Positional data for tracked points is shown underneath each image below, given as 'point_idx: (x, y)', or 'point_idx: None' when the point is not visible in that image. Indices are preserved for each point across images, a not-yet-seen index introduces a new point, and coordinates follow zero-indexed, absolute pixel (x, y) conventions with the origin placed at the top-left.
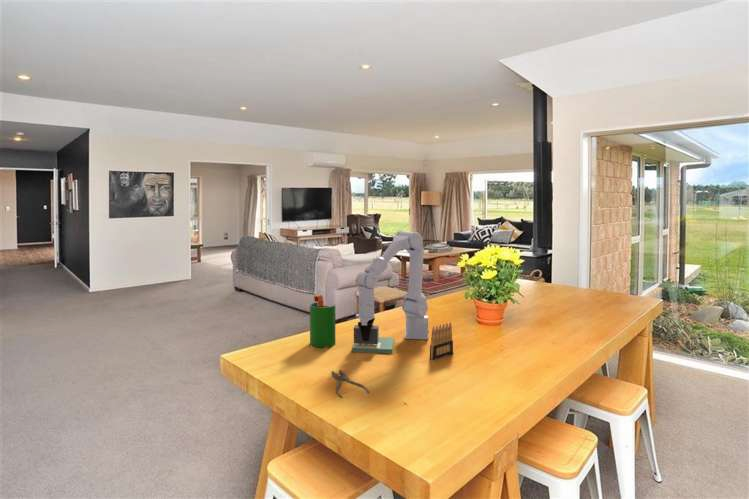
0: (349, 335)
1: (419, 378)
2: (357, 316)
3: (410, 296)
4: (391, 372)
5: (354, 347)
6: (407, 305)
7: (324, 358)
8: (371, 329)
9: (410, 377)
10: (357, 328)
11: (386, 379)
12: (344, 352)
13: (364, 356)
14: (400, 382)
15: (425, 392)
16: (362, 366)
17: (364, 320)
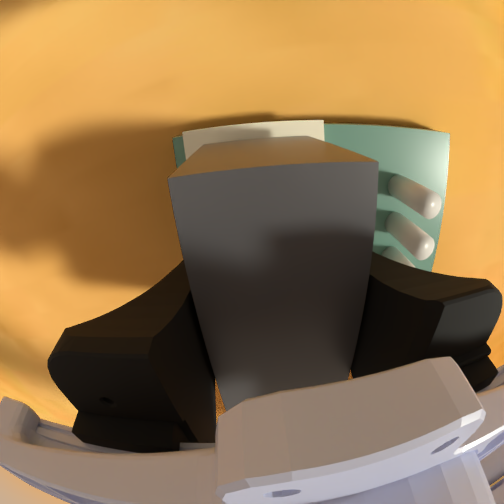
0: (489, 85)
1: (58, 406)
2: (222, 465)
3: (498, 496)
4: (41, 357)
5: (184, 154)
6: (493, 460)
7: (45, 28)
8: (222, 389)
9: (49, 392)
10: (184, 244)
11: (2, 343)
12: (159, 83)
13: (125, 239)
14: (14, 370)
15: (18, 400)
16: (19, 261)
17: (7, 468)
